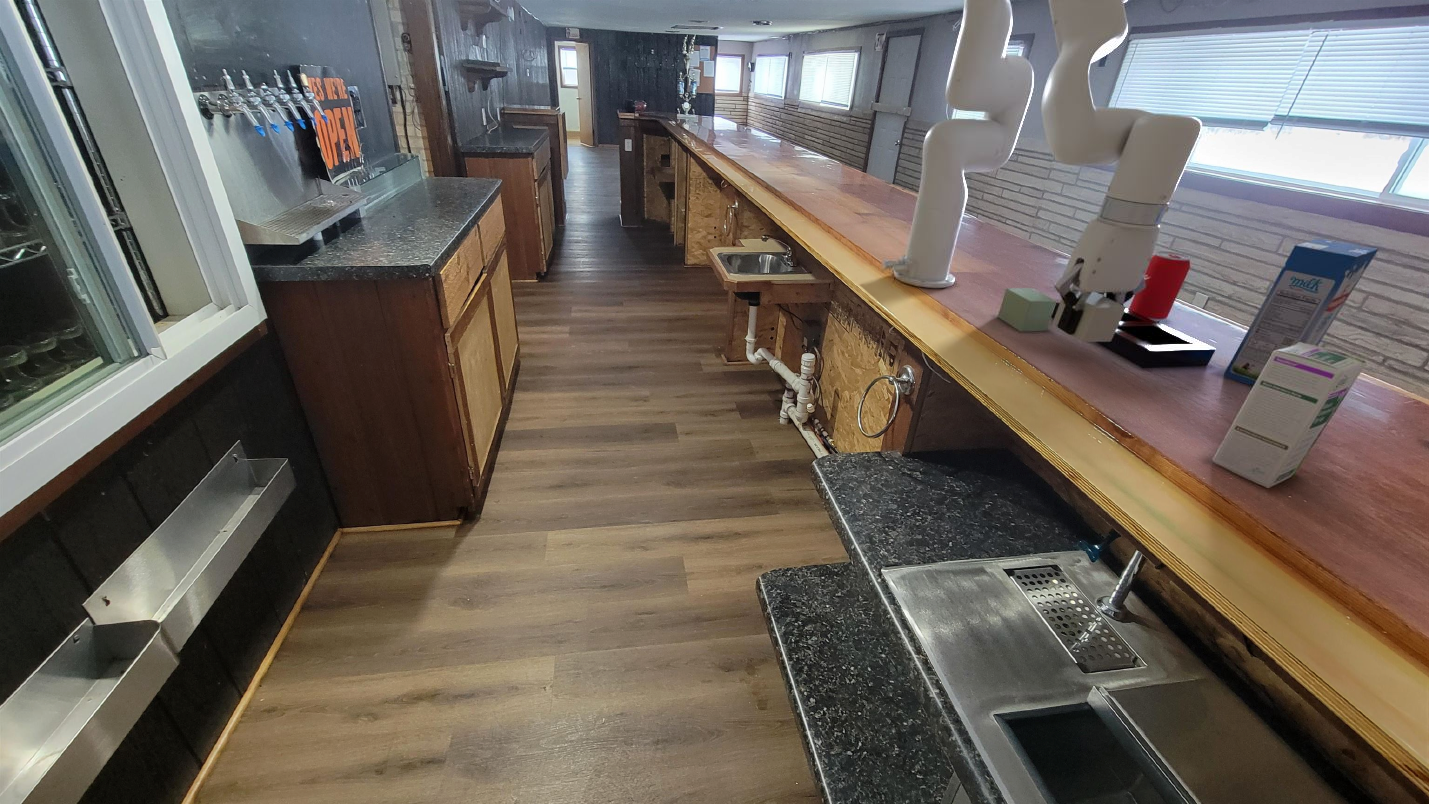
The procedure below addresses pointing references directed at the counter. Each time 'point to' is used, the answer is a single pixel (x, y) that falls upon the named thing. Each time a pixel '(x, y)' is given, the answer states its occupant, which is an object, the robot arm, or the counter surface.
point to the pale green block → (1026, 309)
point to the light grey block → (1095, 318)
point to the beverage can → (1161, 285)
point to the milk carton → (1300, 302)
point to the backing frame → (1154, 343)
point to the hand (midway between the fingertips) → (1081, 329)
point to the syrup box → (1287, 412)
